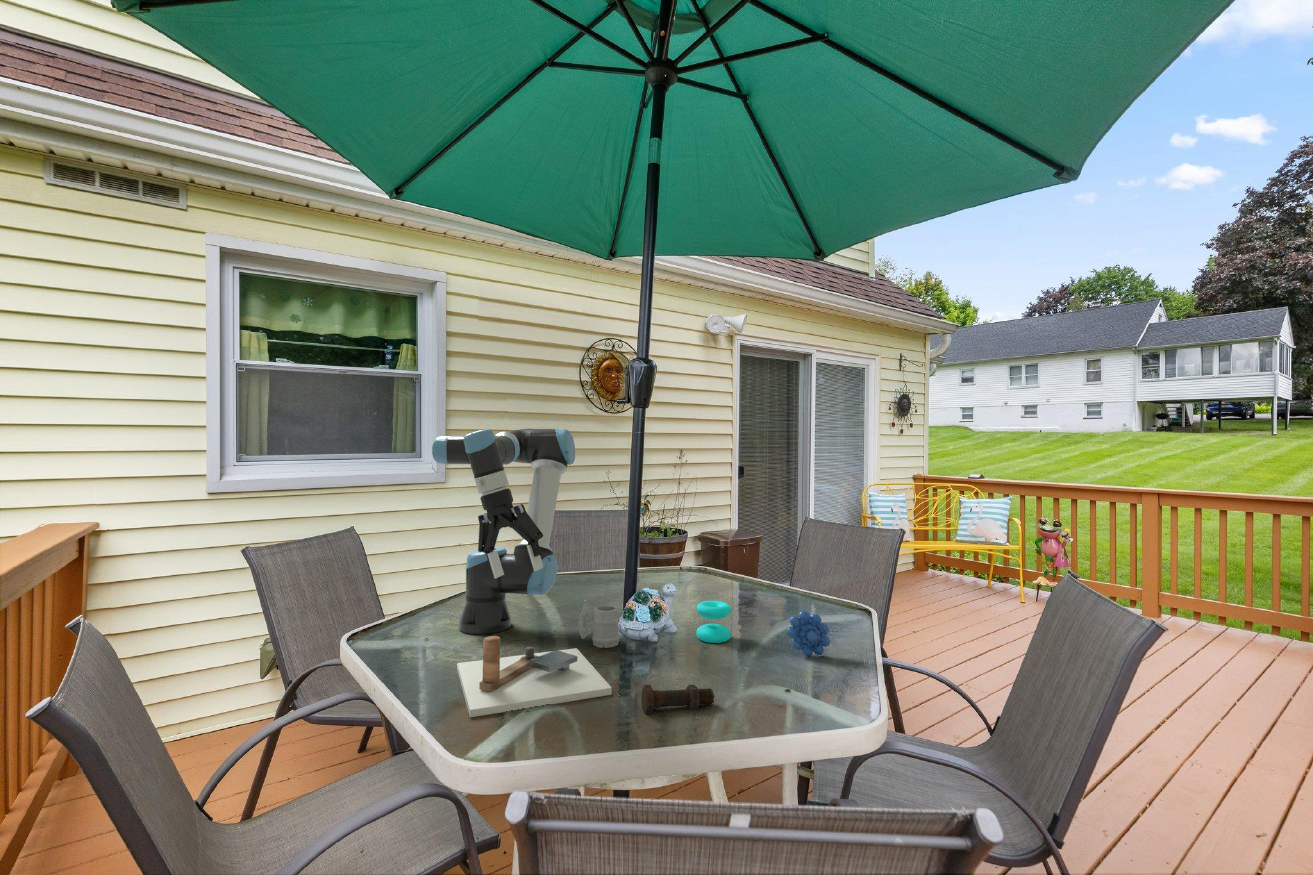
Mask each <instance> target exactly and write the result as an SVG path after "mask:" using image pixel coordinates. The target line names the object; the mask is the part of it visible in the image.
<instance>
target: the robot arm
mask: <svg viewBox="0 0 1313 875" xmlns="http://www.w3.org/2000/svg"><path fill="white" fill-rule="evenodd" d="M431 455H432V459H433V460H434V461H435V462H436V463H437V464H440V465H442V464H443V465H470V467H471V470H472V474H473V478H474V481H475V485H476V488H477V491H478V494H479V495H480V498H479V500H480V502H481V506H482V509H483V510H484V511H485V513H483V514H480V515H478V516H477V518H478V522H479V527H478V528H479V529H478V546H477V550H476V551H472V552H471V553H468V555H467V557H466V562H465V563H466V565H465V603H464V605H463V609H462V610H461V611H462V613H461V615H460V617H459V622H458V629H459V630H460V632H462V633H466V634H471V635H485V634H486V635H487V634H493V633H494V634H495V633H499V632H503V631H506V630H508V629H509V628H510V627H511V626H512V616H511V613H510V609H509V607H508V603H507V598H506V596H507V595H506V594H511V595H512V594H513V595H528V596H543V595H546V594H547V593H548V592H549V591H550V590H551V589H552V587H553V586H554V583H555V580H556V578H557V572H558V559H557V558H556V556H554V551H553V550H552V548H551V546H550V544H551V543H550V542H551V535H552V531H553V524H554V519H555V513H556V507H557V506H556V505H557V500H558V495H559V488H560V482H561V478H562V475H563V474H565V473H566V472H567V468H568V465H569V466H570V465H573V464H574V463H575V459H576V445H575V440H574V437H573V435H572V433H571V431H570V430H568V429H566V428H557V427H556V428H520V429H514V430H508V431H501V432H498V433H496V434H494V431H493V430H492V429H490V428H487V429H486V428H485V429H481V430H477V431H474V432H470V433H468V434H466V435H459V436H458V435H455V436H454V435H453V436H452V435H451V436H450V435H445V436H444V435H443V436H442V435H441V436H438V437H436V438H435V439H434V441H433V443H432V446H431ZM512 463H521V464H530V467H531V468H532V470H533V471H534V472H533V476H532V482H531V487H530V494H529V499H528V503H527V507H526V508H527V509H526V508H525V505H524V504H523V503H519V504H518V505H513V502H514V497H513V494H512V491H511V489H510V487H509V488H508V486H510V485H509V481H508V478H507V475H506V471H505V468H504V465H509V464H512ZM503 528H510V529H512V530H514V532H516V533H517V534H518V535H519V536H520V537H521V538H520V541H519V543H517V544H516V545H514V550H513V553H508V550H507V548H506V547H496V544H497V541H498V536H499V533H500V530H501V529H503Z"/></svg>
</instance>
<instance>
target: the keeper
mask: <svg viewBox="0 0 1313 875" xmlns="http://www.w3.org/2000/svg"><path fill="white" fill-rule="evenodd" d="M549 652H550V653H547V654H544V655H541V656H539V657H536V658H533V659H530V660H528V666H531V667H534V668H537V669H540V670H543V671H546V672H552V671H554V670H557V669H558V670H561V671H565V670H568V669H570V664H572V663H574V662H577V656H575V655H571V654H568V653H565V652H561V651H559V650H558V649H555V650H553V651H552V652H551V651H549Z"/></svg>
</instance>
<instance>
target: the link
mask: <svg viewBox="0 0 1313 875" xmlns="http://www.w3.org/2000/svg"><path fill="white" fill-rule="evenodd" d="M482 641H483V642H482V660H483V679H482V681H481V682H480V684H479V689H480V690H485V691H490V692H491V691H493V690H494V689H496V688H498V687H499V686H501V685H503V684H504V683H506V682H508V681H509V680H511V679H513V678H514V677H516V676H518V675H519V674H521V673H523V672H524V671H526V670H528V669H529V668H531V666H528V660H530V659H533V658H536V657H539V656H536V655H534V654H535V647H533V646H527V647H525V655H526V656H523V657H521V658H520V660H519V661H517V662H515V663H513V664H511V665H510V666H508V667H506V668H504V669H503V670H501V671H500V658H501V637H500V636H499V635H492V636H491V635H490V636H486V637H484V638H482Z"/></svg>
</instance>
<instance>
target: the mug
mask: <svg viewBox="0 0 1313 875" xmlns="http://www.w3.org/2000/svg"><path fill="white" fill-rule="evenodd" d="M590 605H591V604H590V603H589V601H588V600H587V599H584V600H583V607H582V610H581V611H580V615H579V617H578V621H577V626H578V627H577V629H578V630H577V631H578V634H579V636H580V637H581V639H582V640H585V639H586V637H588V636H589V635H592V636H591V640H592V645H593V646H594V647H596V648H600V649H604V648H605V649H609V648H610V649H611V648H614V647H616V646H618V645H619V641H620V636H621V635H620V634H619V623H620V618H619V611H618V607H617V606H615V605H610V604H609V605H599V606H595V607H594V608H591V607H590ZM589 614H594V616H593V622H592V623H593V627H592V626H591V627H590V628H587V627H586V625H585V620H586V617H587V616H588V615H589Z"/></svg>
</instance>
